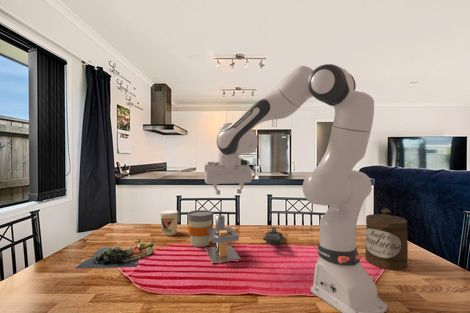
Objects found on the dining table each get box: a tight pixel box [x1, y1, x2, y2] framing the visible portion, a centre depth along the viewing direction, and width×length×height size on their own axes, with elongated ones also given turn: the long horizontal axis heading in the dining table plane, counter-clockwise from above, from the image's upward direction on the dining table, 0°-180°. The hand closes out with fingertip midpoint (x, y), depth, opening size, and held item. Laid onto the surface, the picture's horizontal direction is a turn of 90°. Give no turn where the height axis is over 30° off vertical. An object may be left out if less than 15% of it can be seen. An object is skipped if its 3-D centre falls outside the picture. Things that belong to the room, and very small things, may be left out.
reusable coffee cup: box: [187, 209, 214, 247], centre depth 127 cm, size 12×13×15 cm
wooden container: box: [365, 207, 409, 271], centre depth 106 cm, size 15×15×22 cm
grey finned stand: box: [204, 214, 242, 264], centre depth 112 cm, size 16×12×16 cm
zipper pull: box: [262, 226, 284, 246], centre depth 127 cm, size 9×7×25 cm
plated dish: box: [75, 238, 155, 269], centre depth 111 cm, size 35×28×7 cm
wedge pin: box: [219, 230, 228, 257], centre depth 110 cm, size 3×3×10 cm
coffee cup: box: [160, 209, 179, 237], centre depth 142 cm, size 9×9×12 cm
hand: (228, 193), depth 111 cm, fingers open, 8 cm apart
